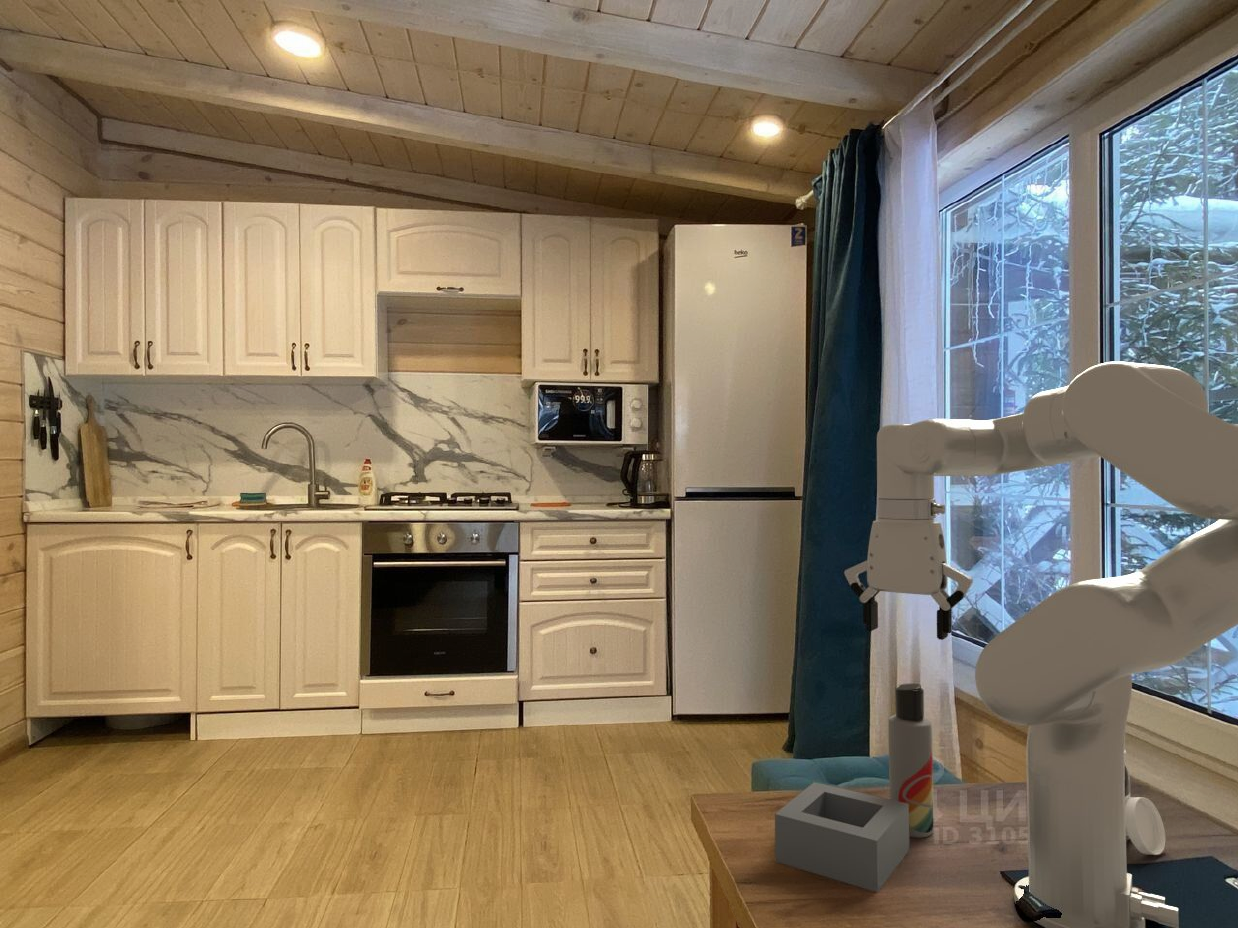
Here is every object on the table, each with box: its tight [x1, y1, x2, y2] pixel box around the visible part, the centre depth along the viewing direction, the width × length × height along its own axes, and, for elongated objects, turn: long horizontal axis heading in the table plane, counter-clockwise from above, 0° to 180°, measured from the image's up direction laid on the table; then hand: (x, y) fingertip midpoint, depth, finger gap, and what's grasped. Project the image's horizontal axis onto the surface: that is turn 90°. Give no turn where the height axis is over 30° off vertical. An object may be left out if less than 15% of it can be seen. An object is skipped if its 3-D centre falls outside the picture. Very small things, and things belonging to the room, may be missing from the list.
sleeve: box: [774, 781, 910, 893], centre depth 100 cm, size 13×13×6 cm
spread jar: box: [1124, 749, 1166, 856], centre depth 105 cm, size 12×11×12 cm
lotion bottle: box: [888, 682, 934, 838], centre depth 108 cm, size 6×6×20 cm
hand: (906, 633), depth 109 cm, fingers open, 9 cm apart
